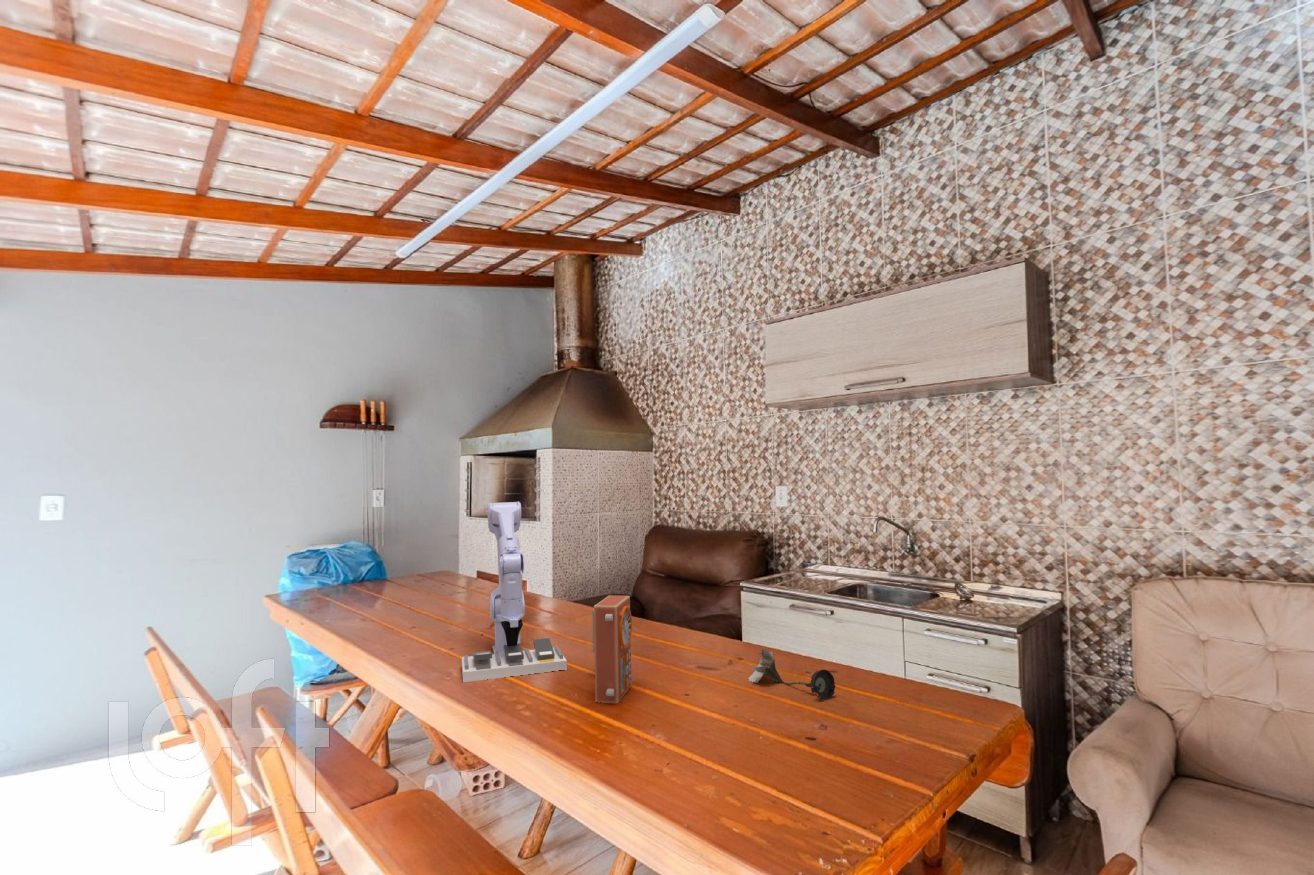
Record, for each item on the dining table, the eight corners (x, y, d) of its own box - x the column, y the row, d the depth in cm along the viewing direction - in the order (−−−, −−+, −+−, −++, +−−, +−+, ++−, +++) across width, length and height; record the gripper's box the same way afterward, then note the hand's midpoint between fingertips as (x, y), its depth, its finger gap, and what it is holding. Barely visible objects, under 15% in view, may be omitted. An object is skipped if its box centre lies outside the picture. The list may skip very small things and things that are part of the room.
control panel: (635, 683, 155) (619, 706, 140) (608, 682, 156) (589, 704, 141) (634, 594, 156) (618, 607, 141) (606, 594, 157) (587, 606, 143)
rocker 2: (533, 643, 176) (533, 639, 175) (549, 641, 177) (549, 637, 177) (537, 660, 167) (537, 655, 167) (554, 658, 169) (554, 653, 168)
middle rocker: (503, 649, 173) (503, 644, 173) (520, 647, 175) (520, 642, 174) (506, 661, 165) (506, 655, 165) (523, 659, 166) (523, 654, 166)
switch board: (461, 666, 172) (461, 653, 172) (558, 656, 180) (558, 643, 180) (463, 682, 159) (463, 668, 159) (566, 670, 167) (566, 656, 167)
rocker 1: (473, 657, 170) (472, 651, 171) (490, 655, 172) (489, 650, 172) (474, 660, 162) (474, 654, 162) (492, 658, 163) (492, 652, 164)
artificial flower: (814, 712, 138) (800, 668, 138) (747, 695, 157) (734, 657, 157) (840, 692, 143) (826, 650, 143) (772, 678, 162) (759, 641, 162)
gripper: (494, 594, 180) (495, 642, 179) (498, 604, 166) (498, 657, 165) (520, 592, 182) (520, 640, 181) (526, 601, 168) (526, 654, 168)
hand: (512, 648), depth 173 cm, fingers closed, pressing on middle rocker
